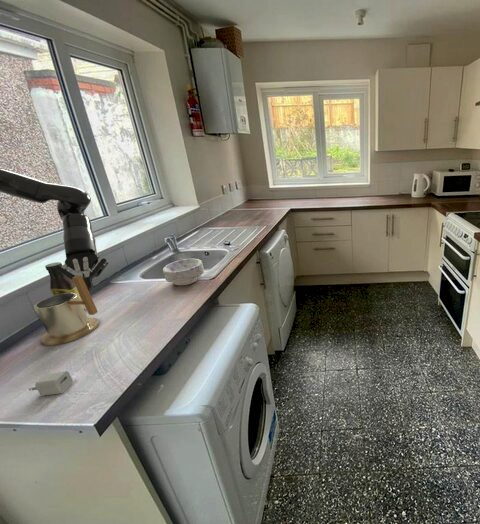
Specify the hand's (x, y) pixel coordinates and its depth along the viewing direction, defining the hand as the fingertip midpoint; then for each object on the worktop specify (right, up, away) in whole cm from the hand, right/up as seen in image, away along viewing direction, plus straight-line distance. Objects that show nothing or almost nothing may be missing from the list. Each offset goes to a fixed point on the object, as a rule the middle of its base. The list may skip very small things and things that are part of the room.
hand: (87, 290), depth 90 cm
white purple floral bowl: (+10, 0, +37) cm, 39 cm away
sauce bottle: (-18, -10, +15) cm, 26 cm away
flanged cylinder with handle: (-6, -13, +4) cm, 15 cm away
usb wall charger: (+9, -23, -19) cm, 31 cm away
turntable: (-9, -14, +5) cm, 18 cm away
